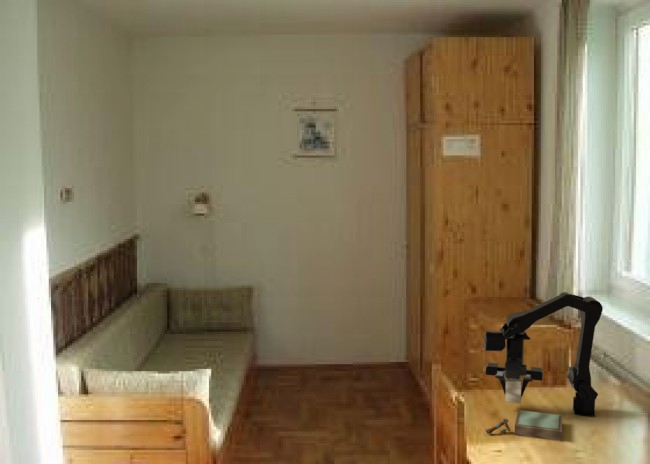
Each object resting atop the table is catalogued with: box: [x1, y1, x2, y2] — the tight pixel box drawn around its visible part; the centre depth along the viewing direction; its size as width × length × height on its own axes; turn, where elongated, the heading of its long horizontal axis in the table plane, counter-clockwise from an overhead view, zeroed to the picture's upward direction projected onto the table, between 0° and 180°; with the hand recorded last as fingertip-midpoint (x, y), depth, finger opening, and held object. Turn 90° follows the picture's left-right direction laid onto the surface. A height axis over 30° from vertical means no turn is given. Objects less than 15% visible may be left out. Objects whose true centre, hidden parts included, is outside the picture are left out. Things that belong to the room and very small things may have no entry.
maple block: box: [504, 378, 523, 404], centre depth 235 cm, size 5×5×7 cm
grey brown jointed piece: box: [485, 418, 511, 436], centre depth 217 cm, size 2×8×4 cm, turn 105°
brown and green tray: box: [513, 409, 563, 442], centre depth 219 cm, size 14×14×3 cm
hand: (513, 395), depth 235 cm, fingers closed on maple block, 5 cm apart
